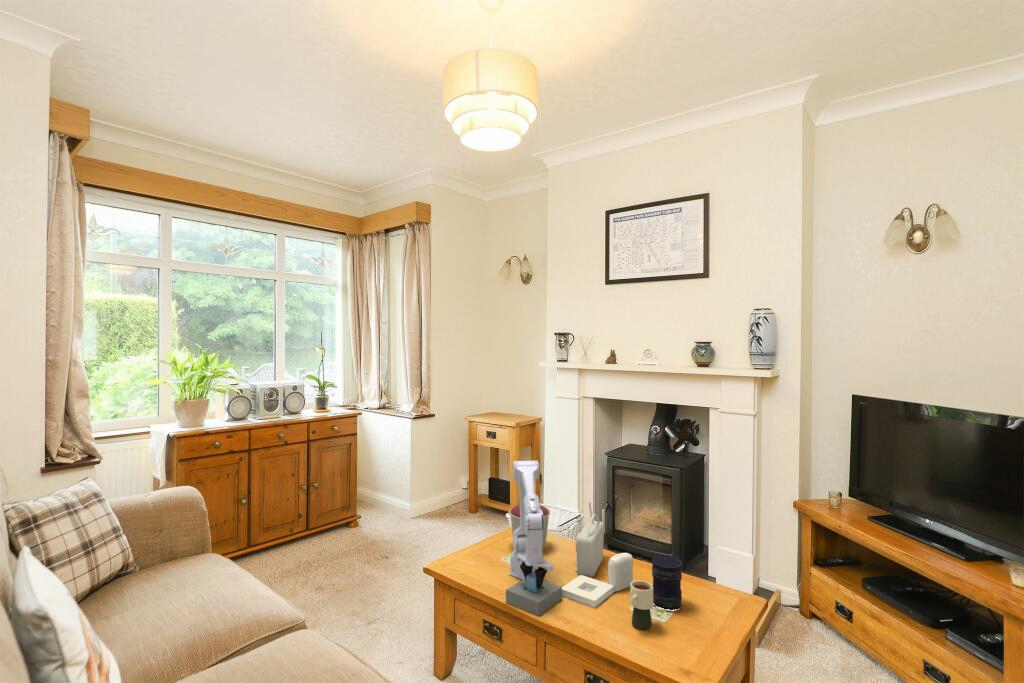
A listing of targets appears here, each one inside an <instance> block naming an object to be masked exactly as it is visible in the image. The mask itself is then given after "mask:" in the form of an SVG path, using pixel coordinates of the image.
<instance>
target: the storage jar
mask: <svg viewBox="0 0 1024 683" xmlns="http://www.w3.org/2000/svg"><path fill="white" fill-rule="evenodd" d="M651 565H652V566H651V570H652V571H651V574H652V585H653V603H654V604H655V605H656V606H658V607H661V608H664V609H670V610H673V609H674V610H675V609H679V608H680V607H681V608H682V599H683V598H682V596H683V595H682V594H683V593H682V589H681V584H682V577H683V576H682V575H683V573H682V572H683V569H682V561H681V559H679V558H677V557H675V556H673V555H672V556H671V555H665V554H663V555H662V554H661V555H655V556H653V557H652V564H651Z"/></svg>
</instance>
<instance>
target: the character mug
mask: <svg viewBox="0 0 1024 683" xmlns="http://www.w3.org/2000/svg"><path fill="white" fill-rule="evenodd" d="M629 588H630V591H629V592H630V600H629V602H630V604H631V605H632V606H631V607H633V610H632V616H631V624H632V626H634V627H636V628H639V629H645V630H647V629H648V630H649V629H650V628H652V624H653V623H652V622H653V621H652V615H651V609H653V606H654V605H653V583H650V582H649V581H647V580H641V579H640V580H639V579H638V580H633V582H631V586H630V587H629Z"/></svg>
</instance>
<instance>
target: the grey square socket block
mask: <svg viewBox="0 0 1024 683" xmlns="http://www.w3.org/2000/svg"><path fill="white" fill-rule="evenodd" d="M562 587H563V586H561V585H559V584H556V583H552V582H551V581H547V580H543V584H542V590H541V591H539V592H538V593H536V594H535V593H533V592H530V591H528V590H526V581H525V579H520V581H518V582H516V583H515V584H513V585H511V586H509V587H508V588H506V589H505V603H506V604H509V605H511V606H512V607H516V608H519V609H520V610H523V611H525V612H528V613H530V614H533V615H535V616H537V617H539V616H541V615H542V614H544V613H545V612H546V611H548V610H549V609H551V608H552V607H553V606H555V605H556V604H558V603H559V602H560V601H562V600H563V596H562Z"/></svg>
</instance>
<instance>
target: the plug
mask: <svg viewBox="0 0 1024 683" xmlns="http://www.w3.org/2000/svg"><path fill="white" fill-rule="evenodd" d="M526 590H528V591H530V592H533V593H535V594H536V593H538V592H539V591H541V590H542V588H540V589H537V585H536V575H535V572H532V573H530V574H528V575H527V576H526Z"/></svg>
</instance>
